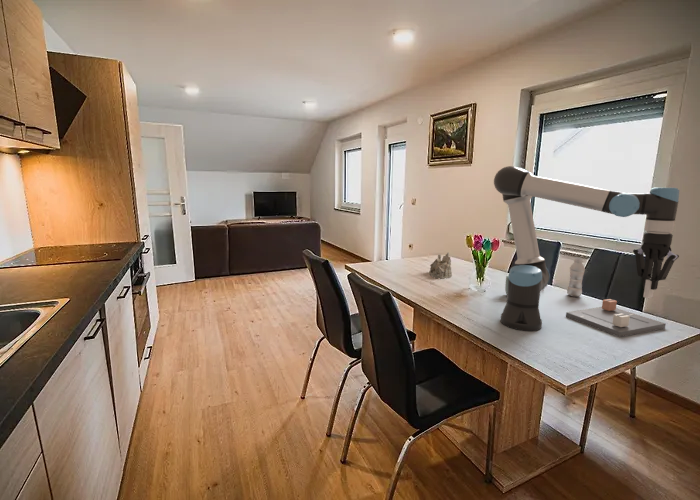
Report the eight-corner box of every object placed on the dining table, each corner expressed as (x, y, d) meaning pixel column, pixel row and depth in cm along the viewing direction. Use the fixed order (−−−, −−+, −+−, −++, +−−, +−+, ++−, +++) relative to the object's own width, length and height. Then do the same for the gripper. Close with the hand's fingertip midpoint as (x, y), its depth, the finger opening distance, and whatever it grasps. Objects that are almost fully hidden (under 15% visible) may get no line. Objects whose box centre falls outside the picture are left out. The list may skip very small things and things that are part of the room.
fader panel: (619, 337, 128) (620, 331, 128) (565, 316, 148) (566, 311, 148) (664, 328, 136) (665, 323, 136) (608, 309, 157) (608, 305, 156)
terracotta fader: (608, 310, 149) (609, 301, 148) (601, 308, 151) (602, 299, 151) (615, 309, 150) (617, 300, 149) (608, 307, 153) (609, 298, 152)
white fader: (620, 327, 131) (622, 317, 130) (612, 324, 134) (613, 314, 133) (628, 325, 132) (629, 315, 132) (620, 322, 135) (621, 313, 135)
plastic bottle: (575, 294, 180) (580, 256, 177) (584, 298, 173) (589, 259, 170) (563, 294, 180) (567, 256, 176) (572, 298, 173) (576, 259, 170)
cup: (523, 299, 172) (524, 279, 170) (506, 298, 173) (508, 278, 172) (518, 294, 179) (520, 275, 178) (502, 293, 181) (504, 275, 179)
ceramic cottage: (435, 270, 230) (436, 249, 226) (457, 276, 217) (458, 253, 214) (420, 275, 220) (421, 253, 216) (442, 282, 208) (443, 258, 204)
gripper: (688, 234, 115) (676, 301, 119) (644, 229, 127) (635, 291, 131) (673, 235, 112) (662, 304, 116) (630, 230, 124) (621, 293, 129)
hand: (648, 297), depth 124 cm, fingers closed
